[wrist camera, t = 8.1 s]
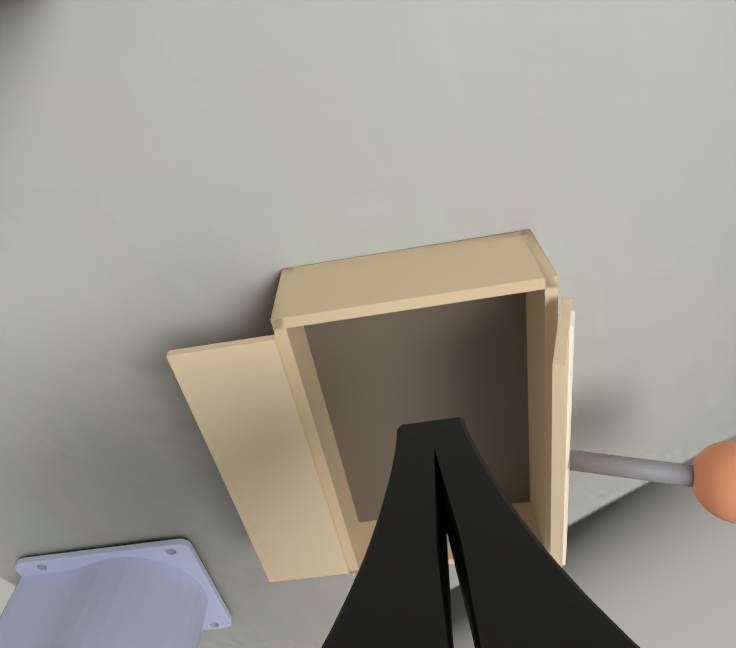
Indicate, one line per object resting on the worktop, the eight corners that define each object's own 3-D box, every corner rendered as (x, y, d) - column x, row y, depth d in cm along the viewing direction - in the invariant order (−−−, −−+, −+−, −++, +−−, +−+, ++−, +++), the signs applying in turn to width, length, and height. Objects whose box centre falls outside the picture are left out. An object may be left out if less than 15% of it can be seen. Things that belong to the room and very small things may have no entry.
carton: (282, 521, 29) (273, 590, 26) (187, 284, 21) (159, 340, 18) (533, 490, 28) (555, 557, 25) (530, 229, 20) (561, 279, 17)
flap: (549, 624, 22) (758, 673, 19) (552, 364, 15) (878, 389, 12) (557, 537, 25) (739, 570, 22) (563, 286, 18) (828, 293, 15)
